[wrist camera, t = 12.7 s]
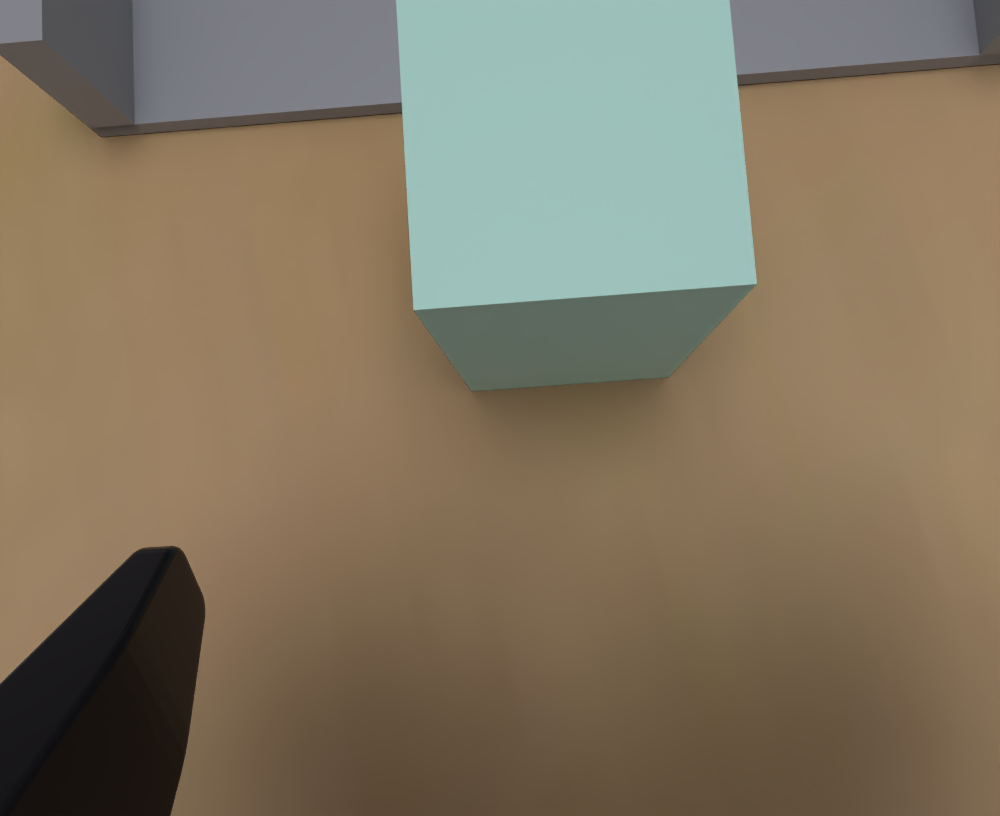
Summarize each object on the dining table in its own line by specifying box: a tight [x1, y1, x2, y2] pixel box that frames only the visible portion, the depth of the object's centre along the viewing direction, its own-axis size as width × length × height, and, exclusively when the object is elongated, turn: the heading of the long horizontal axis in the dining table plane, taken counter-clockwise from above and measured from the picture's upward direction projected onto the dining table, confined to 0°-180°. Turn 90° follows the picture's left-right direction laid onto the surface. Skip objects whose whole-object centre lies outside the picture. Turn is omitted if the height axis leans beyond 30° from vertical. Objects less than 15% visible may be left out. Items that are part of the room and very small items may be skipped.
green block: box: [396, 0, 757, 391], centre depth 19 cm, size 5×5×10 cm
